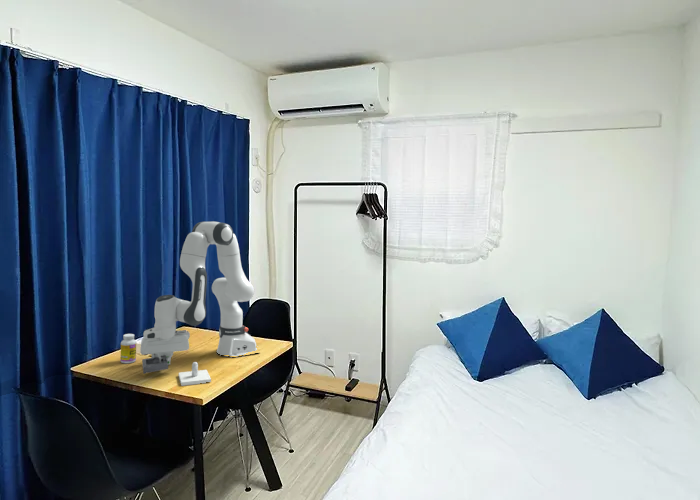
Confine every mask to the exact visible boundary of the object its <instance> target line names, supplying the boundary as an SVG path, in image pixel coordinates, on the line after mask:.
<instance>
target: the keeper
mask: <svg viewBox="0 0 700 500" xmlns="http://www.w3.org/2000/svg"><path fill="white" fill-rule="evenodd" d="M178 379H179V383H180V385H181V386H182V387H184V386H191V385H193V386H194V385H200V383H202V384H207V383H206V382H211V383H212V378H211V376H210V373H209V372H208V369H200V370H199V364H198V362H197V361H193V362H192V364H191V371H181V372H178Z"/></svg>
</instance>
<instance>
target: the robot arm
mask: <svg viewBox="0 0 700 500" xmlns="http://www.w3.org/2000/svg"><path fill="white" fill-rule="evenodd" d="M210 245H215V246H216V254H217V262H218V270H219V271H220V273H221V274H223V276H224V277H218V278H216V279H214V280H213V283H212V285H211V292H212V294H214V295H215V297H216V299H217V303H218V306H219V311H220V325H219V328H218V330H219V331H218V335H219V341H218V346H217V349H216V352H217V353H218V354H220V355H219V356H221V355H229V356H239V355H244V354H246V353H248V352H252V351H256V350H257V348H256V346H257V342H256V339H255V338H254V337H252V336H251V334H249V333H248V331H249V328H248V327H246V326H245V325H243V319H244V318H243V316H244V315H243V313H244V312H243V309H242V308H241V307H240V305H239V303H243V302H249V301H251V300H252V299H253V297H254V294H255V288H254V285H253V284H252V283H251V282H250V281H249V280H248V278H247V276H246V274H245V272H244V270H243V267H242V261H241V254H240V252H241V251H240V247H239V243H238V239H237V236H236V234H235V233H234V230H233V228H232V227H231V225H230V224H228V223H225V222H219V221H200V222H197V223H196V224H195V225H194V226H193V228H192V230H191V232H189V233H188V234H187V236H186V238H185V241H184V242H183V245H182V248H181V249H182V250H181V252H180V253H181V254H180V258H179V266H180V267H179V268H180V269H181V270H182V271H183V273H185V275H187V276H188V277H189V278H190V280H191V282H192V291H191V301H189V300H184V299H181V298H179V297H178V298H177V297H176V296H175V295H172V294H164V295H163V294H162V295H160V296H159V297H157V298H156V300H155V304H154V318H155V323H154V327H152V328H149V329H145V330H144V331H143V337H142V339H141V342H140V354H141V355H142V356H143V355H152V354H156V353H157V356H158V357H159V359H160V362H163V357H161V356H160V355H161V353H165V352H170V355H169V357H167V362H169V361H170V362H171V358H172V357H173V355H174V352H183V351H185V352H186V351H188V350H189V349H190V342H189V339H190V337H191V336H190V335H191V334H190V333H191V332H190V331H188V330H187V329H183V330H182V329H181V330H180V329H179V330H177V322H181V323H186V324H188V325H190V326H192V327H193V326H194V327H195V326H199V325H200V324H202V322H203V321H204V320H205V318H206V316H207V309H206V308H207V307H206V296H207V284H208V272H207V270H206V257H207V252H208V248H209V246H210ZM238 302H239V303H238ZM217 353H216V354H217ZM218 354H217V355H218Z"/></svg>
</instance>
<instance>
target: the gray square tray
mask: <svg viewBox="0 0 700 500" xmlns="http://www.w3.org/2000/svg"><path fill="white" fill-rule="evenodd" d="M161 357H163V362H160V359H159V357H153V358H152V357H148V358H144V359H141V361H142V364H141V365H142V371H143V373H142V374H144V375H145V374H148V373H149V374H150V373H152V372H153V373H154V372H159V371H164V370H169V365H168V362H167V357H166V355H163V356H161Z"/></svg>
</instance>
